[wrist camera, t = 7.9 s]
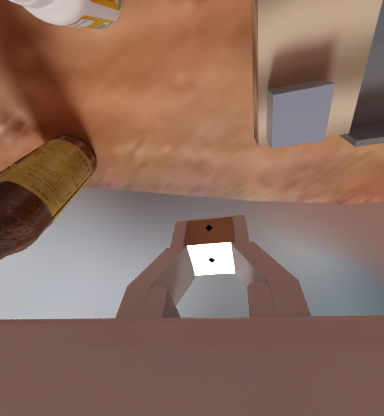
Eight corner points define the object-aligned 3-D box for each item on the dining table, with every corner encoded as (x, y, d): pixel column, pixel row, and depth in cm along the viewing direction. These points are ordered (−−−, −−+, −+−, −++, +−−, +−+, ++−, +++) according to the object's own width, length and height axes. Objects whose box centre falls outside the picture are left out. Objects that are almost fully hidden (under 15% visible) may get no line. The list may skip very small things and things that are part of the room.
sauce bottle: (52, 123, 25) (-203, 253, 10) (103, 147, 27) (-50, 294, 11) (49, 167, 29) (-138, 309, 14) (94, 186, 31) (-30, 335, 15)
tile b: (267, 89, 19) (273, 95, 17) (321, 78, 18) (335, 83, 16) (266, 138, 21) (271, 148, 20) (313, 131, 21) (324, 140, 19)
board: (251, -7, 17) (257, -15, 15) (369, -40, 16) (396, -55, 13) (254, 136, 24) (258, 147, 22) (335, 124, 23) (349, 133, 21)
